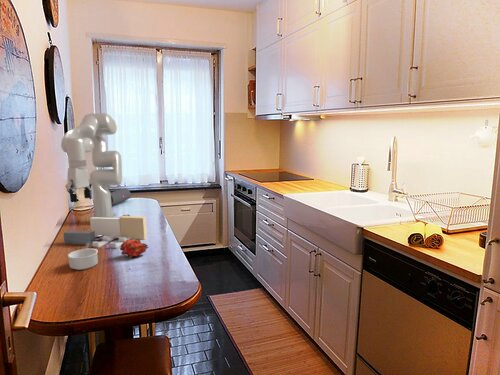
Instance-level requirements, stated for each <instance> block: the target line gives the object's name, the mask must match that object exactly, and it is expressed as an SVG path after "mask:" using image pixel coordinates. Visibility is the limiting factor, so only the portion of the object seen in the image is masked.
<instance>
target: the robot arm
mask: <svg viewBox="0 0 500 375" xmlns="http://www.w3.org/2000/svg"><path fill="white" fill-rule="evenodd" d="M117 127H118V126H117V124H116V121H115V120H114V118H113V117H112V116H111V115H110V114H108V113H103V112H102V113H97V112H96V113H87V114H85V115H84V116H83V118H82V119H81V122H80V124H79V125H78V126H76V127H74V128H72V129H70V130H68V131H67V132H66V133H64V136H63V137H62V139H61V144H60V148H61V149H62V151H63V152H64V153H66V154H67V160H68V169H67V174H66V175H67V176H66V178H67V179H66V180H67V183H66V184H65V188H66V191H67V192H68V194H69V200H70V203H78V194H77V190H80V189H83V196H84V197H83V198H84V199H91V198H93V208H94V217H101V218H114V217H115V216H117V214H116V212H113V207H112V206H113V205H111V194H110V193H111V191H110V190H109V189H108V188H107V187H108V186H119V185H120V186H121V184H122V181H123V169H122V168H123V167H122V155H121V153H120V152H119V151H118V150H109V148H108V142H107V140H106V139H105V138H104V136H103V135H105V136H106V135H108V136H109V135H115V134H116V132H117V129H118V128H117ZM90 152H91V161H92V165H93V166H94V167H95V168H102V169H94V170H92V171H91V172H89V170H88V166H87V159H86V158H87V157H86V156H87V155H86V153H90ZM103 168H106V169H103ZM107 168H109V169H107ZM91 190H92V196H93V197H91Z"/></svg>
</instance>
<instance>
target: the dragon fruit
mask: <svg viewBox="0 0 500 375" xmlns="http://www.w3.org/2000/svg"><path fill="white" fill-rule="evenodd" d="M119 249H120V251H122V252H121V253H120V254H121V255H124V256H125V255H126V256H127V258H129V257H130V259H132V258H133V257H137V258H140V257H143V256H144V254H143V253H146V251H147V249H149V246H148V244H147V243H145V242H141V239H130V240H126V241H125V242H123V244H122V245H121V246H119Z"/></svg>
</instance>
